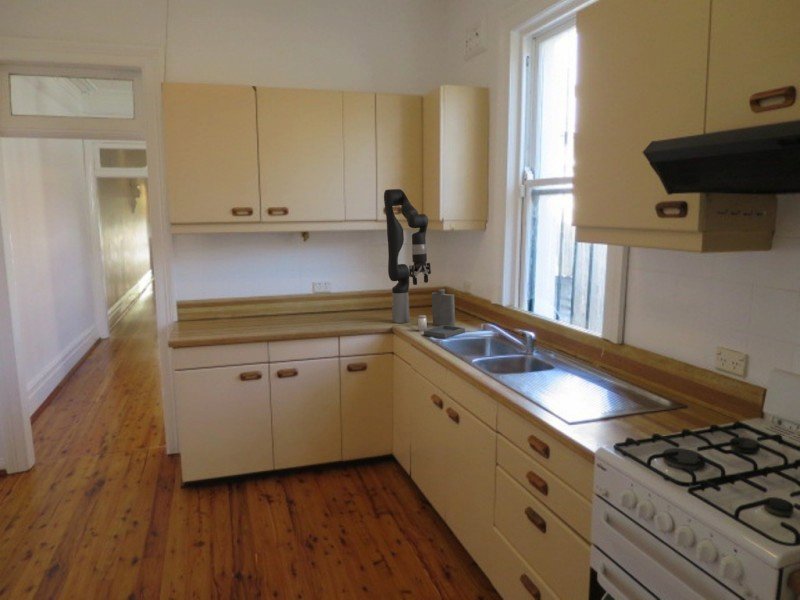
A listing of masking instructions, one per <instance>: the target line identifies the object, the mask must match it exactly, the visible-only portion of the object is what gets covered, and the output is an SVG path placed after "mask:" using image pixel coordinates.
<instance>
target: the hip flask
mask: <svg viewBox="0 0 800 600" xmlns="http://www.w3.org/2000/svg"><path fill="white" fill-rule="evenodd" d="M431 308H432V309H431V312H432V315H431V316H432V325H435V326H441V325H448V326H455V327H456V315H455V314H456V313H455V312H456V308H455V294H453V293H452V294H450V293H446V289H444V288H443V289H438V291H437V292H431Z"/></svg>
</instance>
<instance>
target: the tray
mask: <svg viewBox="0 0 800 600" xmlns="http://www.w3.org/2000/svg"><path fill="white" fill-rule="evenodd" d="M465 329H466V328H465V327H463V326H462V327H461V326H456V325H455V326H448V325H441V326H439V325H437V326H435V327H431V328H427V330H424V331H423V336H425V335H428V336H427V337H431V336H433V338H439V339H448V338H449V339H450V338H451V337H455V336H459V335H461V334H464V333H465V332H466V331H465Z"/></svg>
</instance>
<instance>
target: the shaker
mask: <svg viewBox="0 0 800 600" xmlns="http://www.w3.org/2000/svg"><path fill="white" fill-rule="evenodd" d="M427 323H428V321H427V315H425V314H419V315H417V328H418V329H417V330H418V332H421V333H422V332H423V333H424V330H427V329H428V326H427V325H428V324H427Z"/></svg>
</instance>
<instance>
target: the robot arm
mask: <svg viewBox="0 0 800 600" xmlns="http://www.w3.org/2000/svg"><path fill="white" fill-rule="evenodd" d="M383 192H384V194H383V202H384V204H383V205H384V211H385V217H386V218H385V220H386V234H387V235H386V237H387V251H388V259H387V261H388V262H387V273H388V277H389V279H390V281H391V282H397V284H396V285H395V286H393V287H392V288H391V290H392V291H391V292H392V305H391V318H392V322H394V323H396V324H404V323H410V322H411V321H410V320H411V319H410V299H409V297H410V296H409V290H410V289H409V288H410V277H411V278H412V284H413V286H417V285H418V275H419V274H420V273H422V274H423V283H424V284H427V283H429V275H431V273H432V270H431V262H427V261H428V256H427V244H426V234H427V229H428V225H429V219H428V216H427V215H426V214H424V213H419V212H418V210H417V209H416V208H415V207H414V206H413V205H412V203H411V202H410V201H409V198H408V196H407V195H406V193H405V192H404V191H403V189H401V188H395V189H394V188H392V189H385V191H383ZM398 206H401V208H400V212H401V214H402V216H403V217H404V218H405V219H406V222H407V226H408V227H409V228H410V229H419V230H418V231H417V232H414V233H412V234H411V245H412V247H411V256H412V257H411V258H412V259H411V260H412V263H413V264H412V265H411V264H410V265H409V266H408V265H407V264H405V263H399V261H398V260H399V255H400V251H401V249H402V247H403V244H404V241H405V237H404V235H405V234H404V228H403V225H402V224H401V223H400V221H399V220H398V219H397V216H396V215H395V213H394V208H393V207H398Z"/></svg>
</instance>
